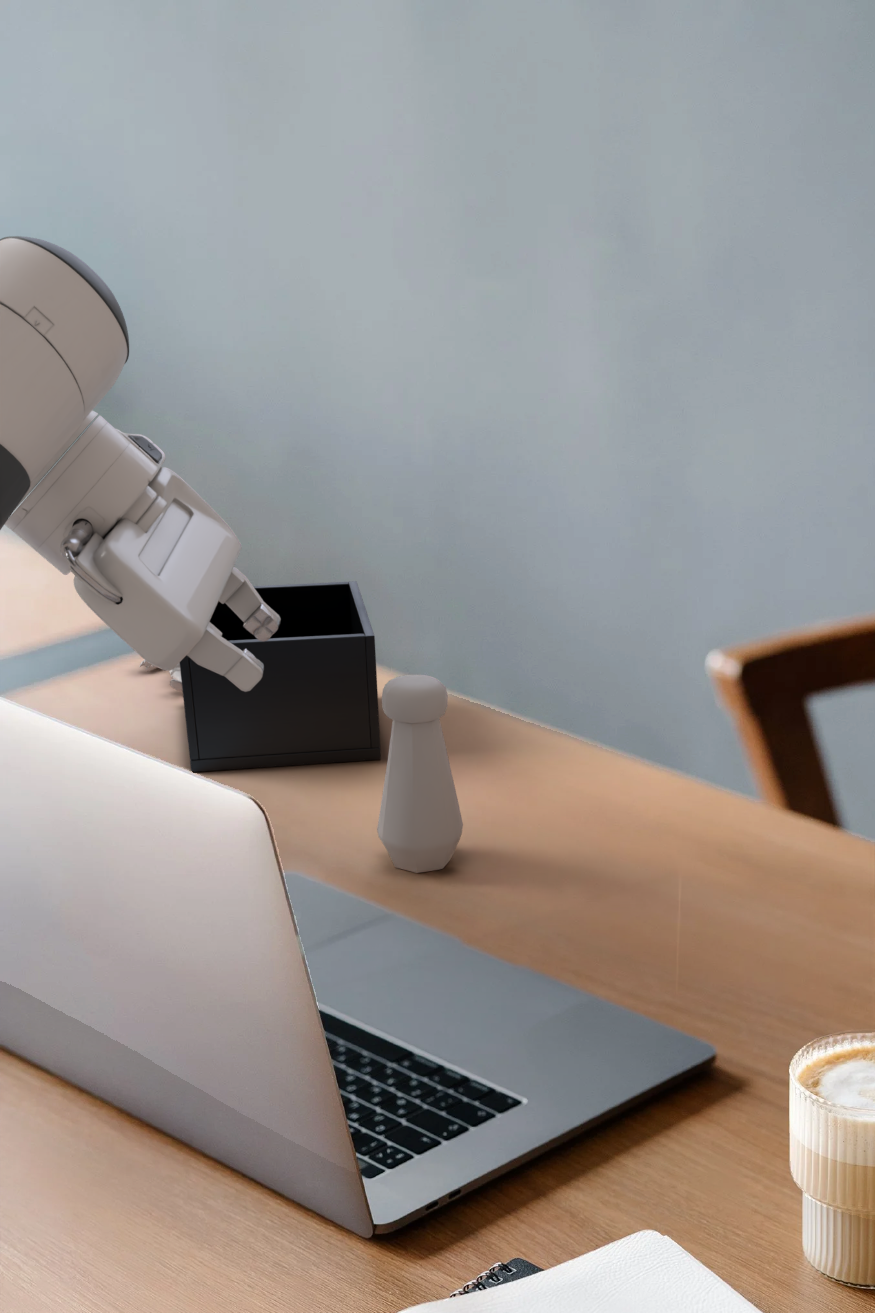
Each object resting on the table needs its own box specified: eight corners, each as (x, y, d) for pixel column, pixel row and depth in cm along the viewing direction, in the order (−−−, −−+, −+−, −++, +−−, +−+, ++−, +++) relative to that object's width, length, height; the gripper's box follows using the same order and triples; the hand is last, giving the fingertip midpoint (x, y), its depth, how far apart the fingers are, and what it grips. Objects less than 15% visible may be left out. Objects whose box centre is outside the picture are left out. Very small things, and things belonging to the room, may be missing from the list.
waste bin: (191, 772, 137) (177, 645, 132) (188, 707, 149) (176, 589, 145) (381, 759, 140) (374, 635, 135) (363, 696, 152) (356, 580, 148)
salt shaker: (386, 840, 127) (377, 663, 121) (468, 843, 127) (463, 666, 121) (373, 876, 122) (362, 693, 116) (457, 879, 122) (451, 696, 115)
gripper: (89, 511, 100) (281, 677, 106) (151, 429, 118) (312, 575, 123) (19, 590, 102) (211, 749, 107) (90, 497, 120) (252, 638, 125)
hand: (265, 655), depth 116 cm, fingers open, 8 cm apart
